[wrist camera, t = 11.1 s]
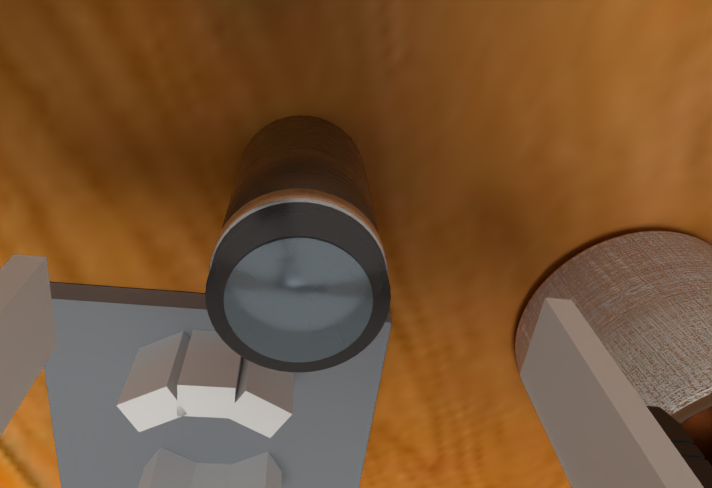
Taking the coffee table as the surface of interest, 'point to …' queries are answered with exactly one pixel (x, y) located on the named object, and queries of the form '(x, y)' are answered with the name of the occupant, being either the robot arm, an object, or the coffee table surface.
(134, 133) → the coffee table surface
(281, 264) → the lens
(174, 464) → the mount
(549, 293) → the planter
